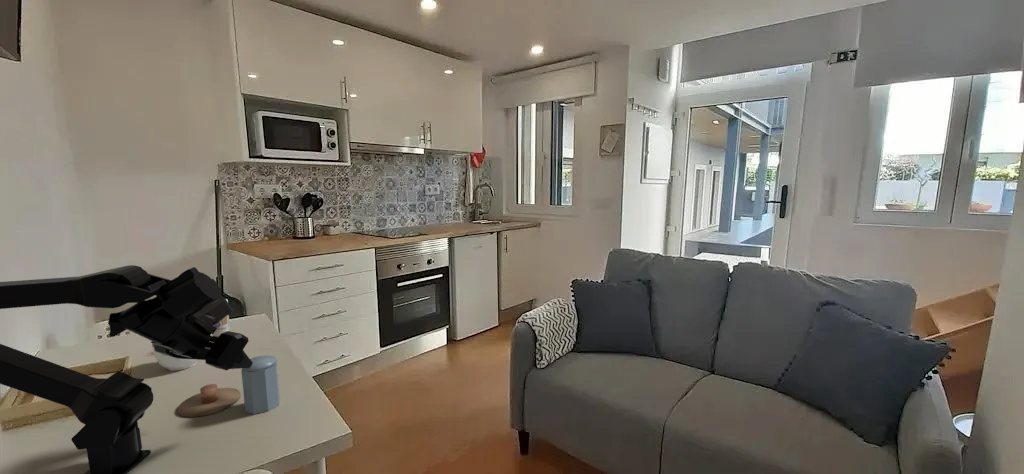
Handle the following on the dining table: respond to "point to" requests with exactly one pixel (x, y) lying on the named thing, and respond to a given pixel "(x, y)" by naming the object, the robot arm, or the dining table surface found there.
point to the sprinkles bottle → (222, 326)
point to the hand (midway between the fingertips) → (234, 361)
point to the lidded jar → (173, 362)
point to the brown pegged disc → (209, 401)
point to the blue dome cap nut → (261, 385)
